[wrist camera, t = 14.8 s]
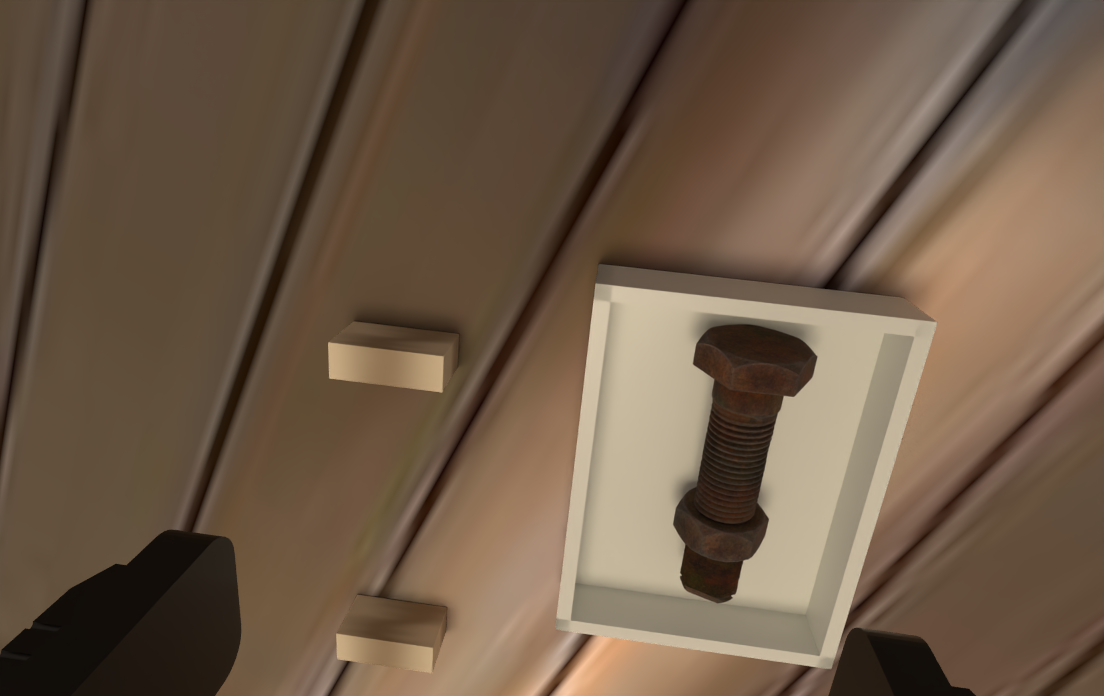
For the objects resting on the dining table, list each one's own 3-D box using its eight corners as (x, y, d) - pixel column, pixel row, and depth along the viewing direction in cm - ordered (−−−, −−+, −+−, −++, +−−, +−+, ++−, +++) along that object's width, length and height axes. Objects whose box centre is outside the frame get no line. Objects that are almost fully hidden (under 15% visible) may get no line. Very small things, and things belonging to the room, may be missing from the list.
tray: (903, 297, 35) (937, 322, 31) (812, 618, 42) (831, 669, 38) (598, 263, 36) (595, 283, 32) (561, 583, 43) (555, 629, 39)
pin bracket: (459, 333, 38) (443, 356, 35) (445, 631, 45) (432, 673, 42) (353, 321, 38) (328, 342, 35) (357, 618, 46) (337, 659, 42)
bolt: (688, 542, 42) (731, 314, 36) (767, 580, 40) (827, 340, 34) (643, 594, 38) (684, 343, 32) (729, 640, 35) (791, 376, 29)
